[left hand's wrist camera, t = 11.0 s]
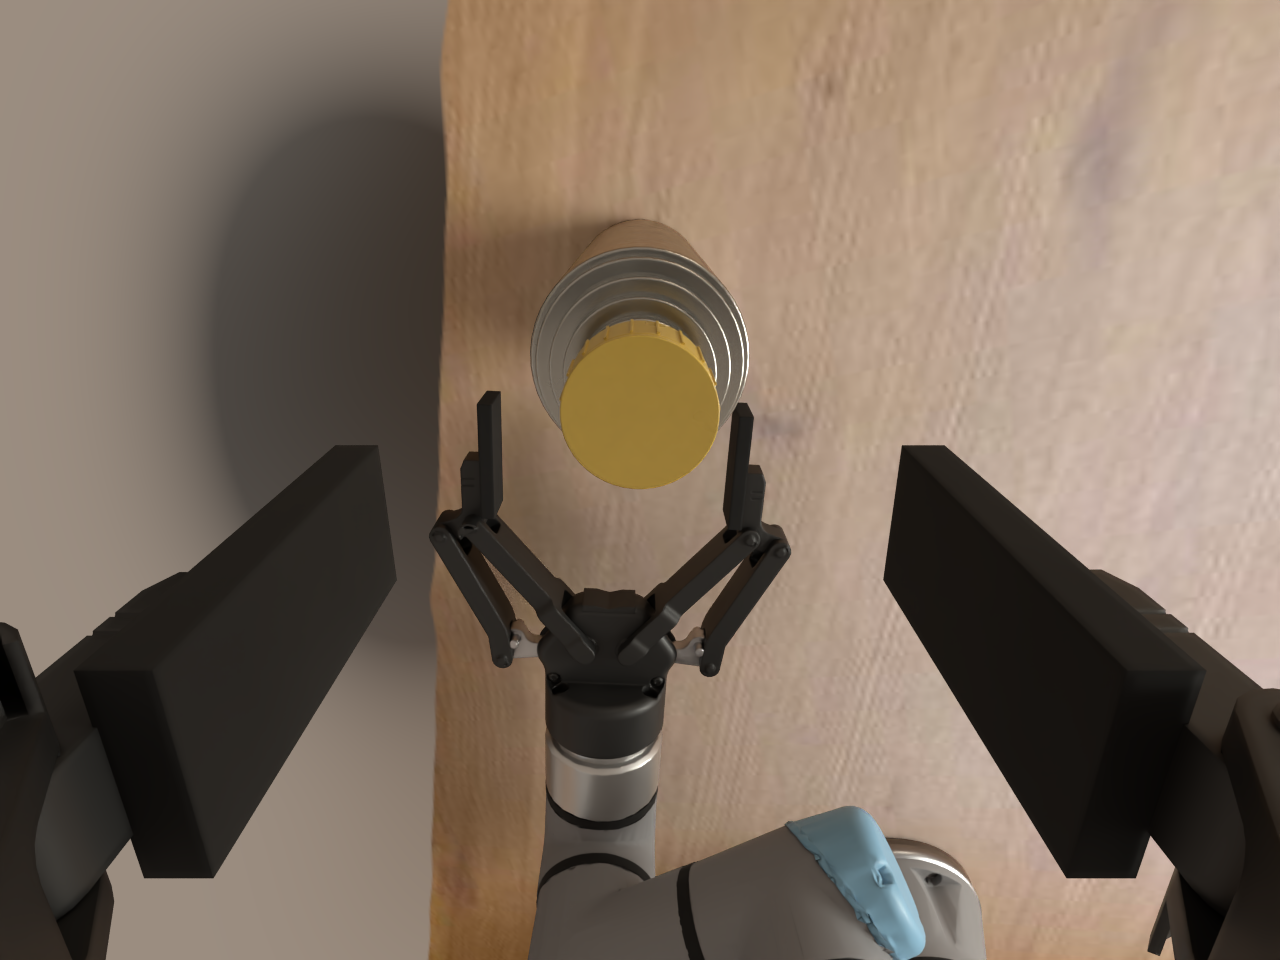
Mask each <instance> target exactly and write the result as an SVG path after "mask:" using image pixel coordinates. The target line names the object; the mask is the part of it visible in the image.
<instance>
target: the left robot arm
mask: <svg viewBox="0 0 1280 960" xmlns="http://www.w3.org/2000/svg"><path fill="white" fill-rule="evenodd" d="M396 580H397V579H396V571H395V564H394V557H393V550H392V543H391V535H390V528H389V521H388V514H387V507H386V500H385V492H384V485H383V478H382V471H381V463H380V456H379V449H378V446H377V445H336V446H334V447H333V448H332V449H331V450H330V451H328V452H327V453H326V454H325V455H324V456H323V457H321V458H320V459H319V460H318V461H317V462H316V463H314V464H313V465H312V466H311V467H310V468H309V469H307V470H306V471H305V472H304V473H303V474H302V475H300V476H299V477H298V478H297V479H296V480H295V481H293V482H292V483H291V484H290V485H289V486H288V487H286V488H285V489H284V490H283V491H282V492H281V493H279V494H278V495H277V496H276V497H275V498H274V499H273V500H271V501H270V502H269V503H268V504H267V505H266V506H264V507H263V508H262V509H261V510H260V511H259V512H257V513H256V514H255V515H254V516H253V517H252V518H250V519H249V520H248V521H247V522H246V523H245V524H243V525H242V526H241V527H240V528H239V529H238V530H236V531H235V532H234V533H233V534H232V535H231V536H229V537H228V538H227V539H226V540H225V541H224V542H222V543H221V544H220V545H219V546H218V547H217V548H215V549H214V550H213V551H212V552H211V553H210V554H209V555H207V556H206V557H205V558H204V559H203V560H201V561H200V562H199V563H198V564H197V565H196V566H194V567H193V568H192V569H191V570H190V571H189V572H179V573H177V574H175V575H173V576H171V577H169V578H167V579H165V580H163V581H161V582H159V583H157V584H155V585H153V586H151V587H149V588H147V589H145V590H143V591H141V592H140V593H139V594H138V595H136V596H135V597H134V598H133V599H131V600H130V601H129V602H128V603H126V604H125V605H124V606H123V607H122V608H120V609H119V610H118V611H117V612H116V613H115V617H109V618H108V619H107V620H106V621H104V622H103V623H102V624H101V625H100V626H98V627H97V628H96V629H95V630H94V631H93V635H92V636H86V637H85V638H84V639H82V640H81V641H80V642H79V643H78V644H76V645H75V646H74V647H73V648H71V649H70V650H69V651H68V652H67V653H65V654H64V655H63V656H62V657H60V658H59V659H58V660H57V661H55V662H54V663H53V664H52V665H51V666H49V667H48V668H47V669H46V670H44V671H43V672H42V673H41V674H40V675H38V676H37V677H36V678H35V675H34V673H33V670H32V667H31V664H30V662H29V659H28V656H27V653H26V651H25V648H24V645H23V643H22V640H21V637H20V634H19V632H18V629H16V628H14V627H12V626H10V625H8V624H6V623H2V622H0V960H106V953H107V946H108V940H109V933H110V926H111V919H112V913H113V906H114V897H113V891H112V886H111V883H110V880H109V878H108V875H107V872H106V869H107V868H108V866H109V865H110V864H111V863H112V861H113V860H114V859H115V858H116V856H117V855H118V854H119V852H120V851H121V850H122V848H123V847H124V846H125V845H126V843H127V842H128V841H129V840H130V838H131V841H132V844H133V847H134V850H135V853H136V856H137V859H138V861H139V864H140V867H141V870H142V873H143V876H144V878H214V876H215V875H216V873H217V872H218V870H219V868H220V867H221V865H222V863H223V862H224V860H225V859H226V857H227V855H228V854H229V852H230V850H231V849H232V847H233V846H234V844H235V842H236V841H237V839H238V837H239V836H240V834H241V833H242V831H243V829H244V828H245V826H246V824H247V823H248V821H249V820H250V818H251V816H252V815H253V813H254V811H255V810H256V808H257V806H258V805H259V803H260V802H261V800H262V798H263V797H264V795H265V793H266V792H267V790H268V788H269V787H270V785H271V784H272V782H273V780H274V779H275V777H276V776H277V774H278V772H279V771H280V769H281V767H282V766H283V764H284V762H285V761H286V759H287V758H288V756H289V754H290V753H291V751H292V750H293V748H294V746H295V745H296V743H297V741H298V740H299V738H300V737H301V735H302V733H303V732H304V730H305V728H306V727H307V725H308V724H309V722H310V720H311V719H312V717H313V715H314V714H315V712H316V710H317V709H318V707H319V706H320V704H321V702H322V701H323V699H324V697H325V696H326V694H327V693H328V691H329V689H330V688H331V686H332V684H333V683H334V681H335V679H336V678H337V676H338V675H339V673H340V671H341V670H342V668H343V667H344V665H345V663H346V662H347V660H348V658H349V657H350V655H351V653H352V652H353V650H354V649H355V647H356V645H357V644H358V642H359V640H360V639H361V637H362V636H363V634H364V632H365V631H366V629H367V627H368V626H369V624H370V623H371V621H372V619H373V618H374V616H375V614H376V613H377V611H378V609H379V608H380V606H381V605H382V603H383V601H384V600H385V598H386V596H387V595H388V593H389V592H390V590H391V588H392V587H393V585H394V584H395V582H396ZM883 580H884V582H885V584H886V585H887V587H888V588H889V590H890V592H891V593H892V595H893V597H894V598H895V600H896V601H897V603H898V605H899V606H900V608H901V610H902V611H903V613H904V614H905V616H906V618H907V619H908V621H909V623H910V624H911V626H912V627H913V629H914V631H915V632H916V634H917V636H918V637H919V639H920V641H921V642H922V644H923V645H924V647H925V649H926V650H927V652H928V654H929V655H930V657H931V658H932V660H933V662H934V663H935V665H936V667H937V668H938V670H939V671H940V673H941V675H942V676H943V678H944V680H945V681H946V683H947V684H948V686H949V688H950V689H951V691H952V693H953V694H954V696H955V697H956V699H957V701H958V702H959V704H960V706H961V707H962V709H963V711H964V712H965V714H966V715H967V717H968V719H969V720H970V722H971V724H972V725H973V727H974V728H975V730H976V732H977V733H978V735H979V737H980V738H981V740H982V741H983V743H984V745H985V746H986V748H987V750H988V751H989V753H990V754H991V756H992V758H993V759H994V761H995V763H996V764H997V766H998V767H999V769H1000V771H1001V772H1002V774H1003V776H1004V777H1005V779H1006V780H1007V782H1008V784H1009V785H1010V787H1011V789H1012V790H1013V792H1014V794H1015V795H1016V797H1017V798H1018V800H1019V802H1020V803H1021V805H1022V807H1023V808H1024V810H1025V811H1026V813H1027V815H1028V816H1029V818H1030V820H1031V821H1032V823H1033V824H1034V826H1035V828H1036V829H1037V831H1038V833H1039V834H1040V836H1041V837H1042V839H1043V841H1044V842H1045V844H1046V846H1047V847H1048V849H1049V850H1050V852H1051V854H1052V855H1053V857H1054V859H1055V860H1056V862H1057V864H1058V865H1059V867H1060V868H1061V870H1062V872H1063V873H1064V875H1065V877H1066V878H1136V876H1137V873H1138V870H1139V868H1140V865H1141V862H1142V859H1143V856H1144V853H1145V850H1146V847H1147V844H1148V841H1149V838H1150V835H1151V837H1152V838H1153V839H1154V841H1155V842H1156V843H1157V844H1158V846H1159V847H1160V848H1161V849H1162V851H1163V852H1164V853H1165V855H1166V856H1167V857H1168V858H1169V860H1170V861H1171V862H1172V863H1173V865H1174V866H1175V869H1174V872H1173V875H1172V877H1171V880H1170V883H1169V886H1168V888H1167V891H1166V894H1165V897H1164V899H1163V902H1162V905H1161V907H1160V910H1159V913H1158V916H1157V918H1156V921H1155V924H1154V927H1153V929H1152V932H1151V935H1150V940H1149V945H1148V952H1150V953H1153V954H1156V955H1158V956H1160V954H1161V951H1162V949H1163V946H1164V943H1165V941H1166V939H1167V938H1169V937H1172V944H1173V951H1174V957H1175V960H1280V689H1274V688H1271V689H1263V688H1261V687H1260V686H1259V685H1258V684H1256V683H1255V682H1254V681H1253V680H1251V679H1250V678H1249V677H1248V676H1247V675H1245V674H1244V673H1243V672H1242V671H1240V670H1239V669H1238V668H1237V667H1235V666H1234V665H1233V664H1232V663H1231V662H1229V661H1228V660H1227V659H1226V658H1224V657H1223V656H1222V655H1221V654H1219V653H1218V652H1217V651H1216V650H1214V649H1213V648H1212V647H1211V646H1210V645H1208V644H1207V643H1206V642H1205V641H1203V640H1202V639H1201V638H1200V637H1198V636H1197V635H1196V634H1195V633H1189V632H1188V628H1187V627H1186V626H1185V625H1184V624H1182V623H1181V622H1180V621H1179V620H1177V619H1176V618H1175V617H1174V616H1173V615H1171V614H1166V612H1165V611H1166V610H1165V609H1164V608H1163V607H1161V606H1160V605H1159V604H1158V603H1156V602H1155V601H1154V600H1153V599H1152V598H1150V597H1149V596H1148V595H1147V594H1145V593H1144V592H1143V591H1142V590H1140V589H1139V588H1137V587H1135V586H1133V585H1131V584H1129V583H1127V582H1125V581H1123V580H1121V579H1119V578H1117V577H1115V576H1113V575H1111V574H1109V573H1107V572H1105V571H1103V570H1089V569H1088V568H1087V567H1086V566H1084V565H1083V564H1082V563H1081V562H1080V561H1079V560H1077V559H1076V558H1075V557H1074V556H1073V555H1072V554H1070V553H1069V552H1068V551H1067V550H1066V549H1065V548H1063V547H1062V546H1061V545H1060V544H1059V543H1058V542H1056V541H1055V540H1054V539H1053V538H1052V537H1051V536H1049V535H1048V534H1047V533H1046V532H1045V531H1044V530H1042V529H1041V528H1040V527H1039V526H1038V525H1037V524H1035V523H1034V522H1033V521H1032V520H1031V519H1030V518H1028V517H1027V516H1026V515H1025V514H1024V513H1023V512H1021V511H1020V510H1019V509H1018V508H1017V507H1016V506H1014V505H1013V504H1012V503H1011V502H1010V501H1009V500H1008V499H1006V498H1005V497H1004V496H1003V495H1002V494H1001V493H999V492H998V491H997V490H996V489H995V488H994V487H992V486H991V485H990V484H989V483H988V482H987V481H985V480H984V479H983V478H982V477H981V476H980V475H978V474H977V473H976V472H975V471H974V470H973V469H971V468H970V467H969V466H968V465H967V464H966V463H964V462H963V461H962V460H961V459H960V458H959V457H957V456H956V455H955V454H954V453H953V452H952V451H950V450H949V449H948V448H947V447H946V446H945V445H902V449H901V456H900V463H899V471H898V478H897V485H896V492H895V499H894V507H893V514H892V521H891V528H890V535H889V543H888V550H887V557H886V564H885V571H884V578H883Z"/></svg>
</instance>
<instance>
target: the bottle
mask: <svg viewBox="0 0 1280 960" xmlns="http://www.w3.org/2000/svg"><path fill="white" fill-rule="evenodd" d="M630 319H633V321H635V320H643V321H652V322H656V320H657V321H659V323H661V324H664V325H667V326H669V327H671V328H674V329H675V330H677V331H679V330H681V331H682V334H683V335H685V336H686V337H687V338H688V339H689V340H690V341H691V342H692V343H693V344H694V345H695V346H696V347H698V346H699V348H700V350H701V352H702V355H703V358H704V359H705V361H706V363H707V366H708V368H711V370H712V373H713V376H714V378H715V381H716V383H717V385H716V386H715V388H716V390H717V394H718V399H719V405H720V417H719V425H718V430H719V429H720V428H721V427H722V425H723V424H724V423H725V422H726V421H727V420H728V418H729V417H730V415H731V414H732V412H733V411H734V409H735V407H736V405H737V403H738V401H739V399H740V397H741V395H742V392H743V389H744V386H745V383H746V378H747V373H748V367H749V341H748V336H747V331H746V326H745V323H744V321H743V318H742V315H741V312H740V310H739V308H738V306H737V304H736V302H735V300H734V299H733V297H732V296H731V294H730V293H729V291H728V290H727V288H726V287H725V286H724V285H723V284H722V282H721V281H720V280H719V279H718V278H717V276H716V275H715V274H714V273H713V272H712V270H711V269H710V268H709V267H708V265H707V264H706V263H705V262H704V261H703V259H702V258H701V257H700V256H699V255H698V253H697V252H696V251H695V250H694V249H693V247H692V246H691V245H690V244H689V243H688V242H687V240H686V239H685V238H684V237H683V236H682V235H680V234H679V233H678V232H677V231H675V230H674V229H672V228H670V227H668V226H666V225H664V224H662V223H658V222H655V221H650V220H629V221H625V222H621V223H618V224H616V225H613V226H611V227H610V228H608V229H606V230H604V231H603V232H602V233H601V234H599V235H598V236H597V237H596V238H595V239H594V240H593V241H592V242H591V243H590V245H589V246H588V247H587V248H586V249H585V251H584V252H583V253H582V254H581V255H580V257H579V258H578V259H577V260H576V261H575V263H574V264H573V265H572V266H571V267H570V269H569V270H568V271H567V272H566V273H565V275H564V276H563V277H562V278H561V279H560V281H559V282H558V283H557V284H556V285H555V287H554V288H553V290H552V291H551V292H550V294H549V295H548V296H547V298H546V300H545V302H544V304H543V305H542V307H541V309H540V311H539V314H538V317H537V319H536V322H535V325H534V329H533V334H532V339H531V349H530V357H531V370H532V376H533V381H534V384H535V387H536V390H537V393H538V396H539V398H540V400H541V402H542V404H543V406H544V408H545V409H546V411H547V413H548V414H549V416H550V417H551V419H552V420H553V421H554V422H555V424H556V425H557V426H558V427H559V428H560V429H561V422H560V402H561V401H559V399H560V396H561V393H562V390H563V388H564V385H565V382H566V381H567V378H568V376H566V374H567V372H568V369H569V367H570V364H571V362H572V359H574V360H575V358H576V357H577V355H578V353H579V352H580V350H581V349H582V348H583V346H584V345H585V342H586V340H587V339H588V340H590V339H591V338H592V337H594V336H595V335H596V334H598V333H599V332H601V331H602V330H604V329H606V326H608V325H609V327H610V326H613V325H615V324H618V323H622V322H626V321H630ZM561 430H562V429H561ZM718 430H717V431H718Z"/></svg>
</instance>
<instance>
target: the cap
mask: <svg viewBox="0 0 1280 960" xmlns="http://www.w3.org/2000/svg"><path fill="white" fill-rule="evenodd" d="M566 376H568V378H567V381H566V382H565V385H564V388H563V390H562V393H561V396H560V399H559V401H561V402H560V422H561V429H562V432H563V435H564V438H565V441H566V443H567V445H568V447H569V449H570V451H571V452H572V454H573V455H574V457H575V458H576V459H577V460H578V462H579V463H580V464H581V465H582V466H583V467H584V468H585V469H586V470H588V471H589V472H590V473H592V474H593V475H594V476H596V477H598V478H599V479H601V480H603V481H605V482H608V483H610V484H613V485H616V486H620V487H623V488H630V489H649V488H656V487H660V486H664V485H667V484H669V483H672V482H674V481H676V480H678V479H680V478H682V477H683V476H685V475H686V474H688V473H689V472H691V471H692V470H693V469H694V468H695V467H696V466H697V465H698V464H699V463H700V462H701V461H702V460H703V459H704V457H705V456H706V454H707V453H708V451H709V450H710V448H711V446H712V444H713V442H714V439H715V437H716V434H717V430H718V425H719V417H720V405H719V399H718V394H717V390H716V388H715V386H716V385H717V383H716V381H715V378H714V376H713V373H712V370H711V368H708V366H707V363H706V361H705V359H704V358H703V355H702V352H701V350H700V348H699V346H698V347H696V346H695V345H694V344H693V343H692V342H691V341H690V340H689V339H688V338H687V337H686V336H685V335H683V334H682V331H681V330H679V331H677V330H675V329H674V328H671V327H669V326H667V325H664V324H661V323H659V321H657V320H656V322H652V321H643V320H635V321H633V319H630V321H626V322H622V323H618V324H615V325H613V326H610V327H609V325H608V326H606V329H604V330H602V331H601V332H599V333H598V334H596V335H595V336H594V337H592V338H591V339H590V340H588V339H587V340H586V342H585V345H584V346H583V348H582V349H581V350H580V352H579V353H578V355H577V357H576V358H575V360H574V359H572V362H571V364H570V367H569V369H568V372H567V374H566Z"/></svg>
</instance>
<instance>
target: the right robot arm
mask: <svg viewBox="0 0 1280 960" xmlns="http://www.w3.org/2000/svg"><path fill="white" fill-rule="evenodd" d="M753 421H754V417H753V414H752V412H751V410H750V408H749V406H748V404H747V403H737V405H736V407H735V409H734V411H733V412H732V422H731V432H730V442H729V452H728V462H727V473H726V483H725V493H724V503H723V512H724V516H725V520H726V524H727V526H726V527H725V528H723V529H722V530H721V531H720V532H719V533H718V534H717V535H716V536H715V537H714V538H713V539H712V540H711V541H709V542H708V543H707V544H706V545H705V546H704V547H703V548H702V549H701V550H700V551H699V552H698V553H696V554H695V555H694V556H693V557H692V558H691V559H690V560H689V561H688V562H687V563H686V564H685V565H684V566H682V567H681V568H680V569H679V570H678V571H677V572H676V573H675V574H674V575H673V576H672V577H671V578H669V579H668V580H667V581H666V582H665V583H660V584H659V585H657V586H656V587H655V588H654V589H653V590H652V591H651V592H650V593H649V594H648V595H647V596H645V597H644V598H643V597H642V596H640V595H637V594H635V590H619V591H613V592H607V591H604V590H600V589H594V588H584V592H580V593H578V594H576V595H575V594H574V593H573V592H572V591H571V589H570V588H569V587H568V586H567V585H566V584H565V583H564V582H563V581H562V580H561V579H559V578H555V577H554V576H553V575H552V574H551V573H550V572H549V570H548V569H547V568H546V567H545V566H544V565H543V564H542V563H541V562H540V561H539V560H538V558H537V557H536V556H535V555H534V554H533V553H532V552H531V551H530V550H529V549H528V548H527V547H526V545H525V544H524V543H523V542H522V541H521V540H520V539H519V538H518V537H517V536H516V535H515V533H514V532H513V531H512V530H511V529H510V528H509V527H508V526H507V525H506V524H505V523H504V522H503V520H502V519H501V518H500V517H499V516H498V515H497V512H498V510H499V508H500V505H501V503H502V501H503V479H502V433H501V391H486V393H485V394H484V395H483V397H482V398H481V399H480V401H479V402H478V403H477V423H478V452H469V453H468V454H467V456H466V457H465V459H464V461H463V463H462V466H461V468H460V471H461V494H462V508H461V509H458V510H455V511H453V510H445V511H444V512H442V514H441V515H440V517H439V518H438V520H437V522H436V523H435V525H434V527H433V528H432V530H431V532H430V534H429V538H430V541H431V543H432V544H433V546H434V548H435V549H436V551H437V553H438V554H439V556H440V558H441V559H442V561H443V563H444V564H445V566H446V568H447V569H448V571H449V572H450V574H451V576H452V577H453V579H454V581H455V582H456V584H457V586H458V587H459V589H460V591H461V592H462V594H463V596H464V597H465V599H466V600H467V602H468V604H469V605H470V607H471V609H472V610H473V612H474V614H475V615H476V617H477V619H478V620H479V622H480V624H481V625H482V627H483V629H484V630H485V632H486V633H487V635H488V637H489V643H490V649H491V655H492V661H493V663H494V664H495V665H496V666H497V667H499V668H506V667H509V666H510V665H511V663H512V661H513V658H526V657H539V659H540V660H541V662H542V663H543V665H544V668H545V719H546V726H547V727H546V732H545V764H546V816H545V838H544V847H543V855H542V861H541V868H540V875H539V882H538V890H537V911H536V916H535V922H534V927H533V933H532V939H531V944H530V950H529V956H528V960H987V959H986V950H985V941H984V932H983V923H982V912H981V905H980V901H979V899H978V896H977V894H976V892H975V890H974V888H973V886H972V884H971V881H970V879H969V877H968V875H967V874H966V872H965V870H964V869H963V868H962V866H961V865H960V864H959V863H958V862H957V861H956V860H955V859H954V858H953V857H951V856H950V855H949V854H947V853H946V852H944V851H942V850H940V849H938V848H936V847H934V846H931V845H929V844H926V843H922V842H918V841H913V840H906V839H886V838H885V837H884V835H883V833H882V831H881V830H880V828H879V826H878V825H877V823H876V822H875V820H874V819H873V818H872V816H871V815H870V814H869V813H867V812H866V811H865V810H863V809H861V808H859V807H855V806H845V807H841V808H838V809H835V810H832V811H828V812H825V813H821V814H818V815H815V816H811V817H808V818H805V819H801V820H798V821H788V822H787V823H786V824H785V826H783V827H781V828H778V829H776V830H773V831H771V832H769V833H766V834H764V835H761V836H759V837H757V838H754V839H752V840H749V841H747V842H744V843H742V844H740V845H737V846H735V847H732V848H730V849H727V850H725V851H723V852H720V853H718V854H715V855H713V856H710V857H708V858H706V859H703V860H701V861H697V862H693V863H691V864H688V865H686V866H682V867H680V868H677V869H674V870H672V871H669V872H667V873H664V874H661V875H659V876H656V877H655V824H656V799H657V791H658V783H659V775H660V760H661V746H662V730H661V729H662V726H663V718H664V705H665V691H666V678H667V673H668V671H669V669H670V668H671V667H672V665H673V664H674V663H680V664H687V665H694V666H699V667H700V672H701V674H703V675H704V676H707V677H712V676H715V675H716V674H718V672H719V670H720V666H721V662H722V658H723V654H724V650H725V646H726V645H727V644H728V642H729V641H730V639H731V638H732V637H733V635H734V634H735V632H736V631H737V630H738V628H739V627H740V625H741V624H742V623H743V621H744V620H745V619H746V617H747V616H748V614H749V613H750V612H751V610H752V609H753V607H754V606H755V605H756V603H757V602H758V600H759V599H760V598H761V596H762V595H763V593H764V592H765V591H766V589H767V588H768V586H769V585H770V584H771V582H772V581H773V579H774V578H775V577H776V575H777V574H778V572H779V571H780V570H781V568H782V567H783V565H784V564H785V563H786V561H787V560H788V558H789V557H790V555H791V549H790V546H789V544H788V541H787V539H786V536H785V534H784V532H783V529H782V528H781V527H780V526H778V525H768V524H766V523H764V522H762V521H761V519H762V510H763V502H764V494H765V493H764V492H765V486H766V482H765V479H764V475H763V473H762V470H761V468H760V465H749V457H750V448H751V439H752V430H753ZM481 553H482V554H483V555H484V556H485V557H486V558H487V559H488V560H489V561H490V562H491V563H492V565H493V566H494V567H495V568H496V569H497V570H498V571H499V572H500V573H501V574H502V575H503V576H504V577H505V578H506V579H507V580H508V581H509V582H510V584H511V585H512V586H513V587H514V588H515V589H516V590H517V591H518V592H519V593H520V594H521V595H522V596H523V597H524V598H525V599H526V600H527V601H528V602H529V604H530V605H531V606H532V607H533V608H534V609H535V611H536V613H537V616H538V618H539V620H540V621H541V622H542V623H543V624H544V625H545V628H544V629H543V630H542V631H541V633H540V635H535V634H532V633H531V632H530V631H529V630H528V628H527V626H526V625H525V624H524V621H523V620H521V619H517V620H516V618H515V614H514V611H513V608H512V606H511V604H510V602H509V600H508V598H507V597H506V595H505V593H504V592H503V590H502V588H501V586H500V585H499V583H498V581H497V580H496V578H495V576H494V574H493V573H492V571H491V569H490V567H489V566H488V564H487V562H486V561H485V559H484V557H483V555H482V554H481ZM743 559H744V560H743ZM742 560H743V561H742ZM741 561H742V563H741V564H740V566H739V567H738V569H737V570H736V572H735V573H734V575H733V576H732V577H731V579H730V580H729V582H728V583H727V585H726V586H725V588H724V589H723V590H722V592H721V593H720V595H719V596H718V598H717V599H716V601H715V602H714V603H713V605H712V606H711V608H710V609H709V611H708V612H707V614H706V616H705V618H704V620H703V622H702V626H701V628H700V627H695V628H693V630H692V631H691V632H690V633H689V635H688V637H687V638H686V639H684V640H682V641H676V640H675V637H674V636H673V634H672V633H671V631H670V630H671V629H673V628H674V627H675V626H676V624H677V623H678V621H679V619H680V617H681V616H682V614H684V613H685V612H686V611H687V610H688V609H689V608H690V607H691V606H692V605H694V604H695V603H696V602H697V601H698V600H699V599H700V598H701V597H702V596H704V595H705V594H706V593H707V592H708V591H709V590H710V589H711V588H712V587H714V586H715V585H716V584H717V583H718V582H719V581H720V580H721V579H722V578H723V577H725V576H726V575H727V574H728V573H729V572H730V571H731V570H732V569H733V568H735V567H736V566H737V565H738V564H739V563H740V562H741Z"/></svg>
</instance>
